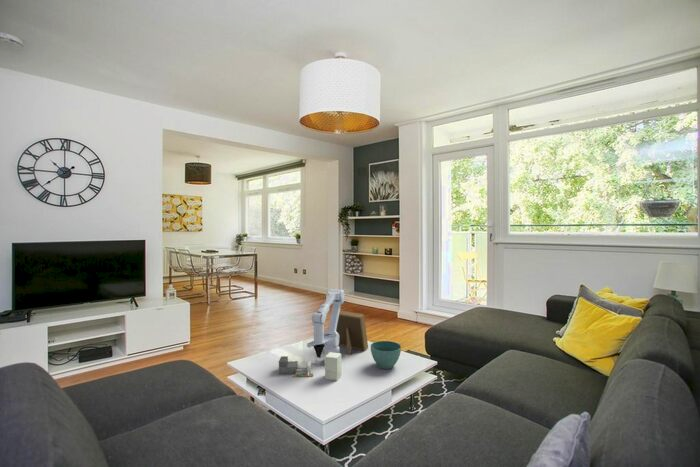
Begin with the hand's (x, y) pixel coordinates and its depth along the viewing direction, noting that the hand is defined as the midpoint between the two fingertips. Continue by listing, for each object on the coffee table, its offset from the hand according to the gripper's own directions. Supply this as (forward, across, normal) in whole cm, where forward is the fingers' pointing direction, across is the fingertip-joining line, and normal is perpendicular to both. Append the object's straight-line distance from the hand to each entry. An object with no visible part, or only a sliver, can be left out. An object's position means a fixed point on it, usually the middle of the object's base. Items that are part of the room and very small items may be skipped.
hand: (318, 357), depth 202 cm
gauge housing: (+8, +14, -10) cm, 19 cm away
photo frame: (+8, -34, -16) cm, 39 cm away
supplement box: (+8, -2, +12) cm, 15 cm away
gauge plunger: (+8, +9, -4) cm, 13 cm away
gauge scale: (+8, +10, 0) cm, 13 cm away
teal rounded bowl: (+8, -35, +19) cm, 41 cm away
